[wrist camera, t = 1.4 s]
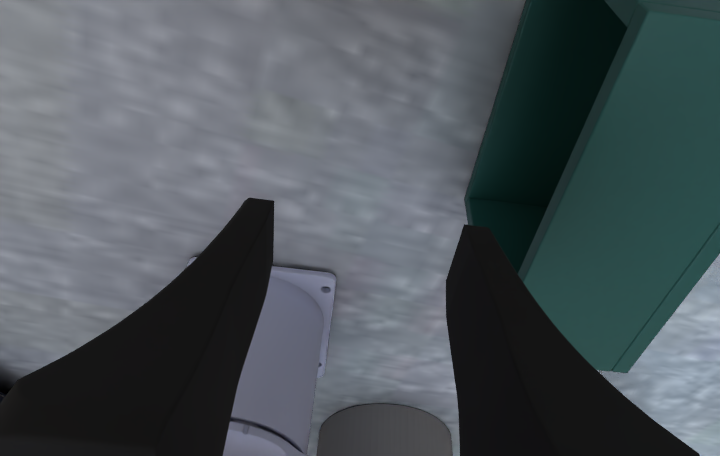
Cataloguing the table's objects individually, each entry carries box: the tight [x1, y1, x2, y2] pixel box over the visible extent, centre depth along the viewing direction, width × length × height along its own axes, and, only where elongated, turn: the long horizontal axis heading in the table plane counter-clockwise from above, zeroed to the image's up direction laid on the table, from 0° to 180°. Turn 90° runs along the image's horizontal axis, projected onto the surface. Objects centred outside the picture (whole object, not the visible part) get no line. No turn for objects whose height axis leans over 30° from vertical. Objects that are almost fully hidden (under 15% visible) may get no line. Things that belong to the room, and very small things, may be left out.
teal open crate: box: [464, 0, 720, 373], centre depth 18 cm, size 13×5×9 cm, turn 173°
